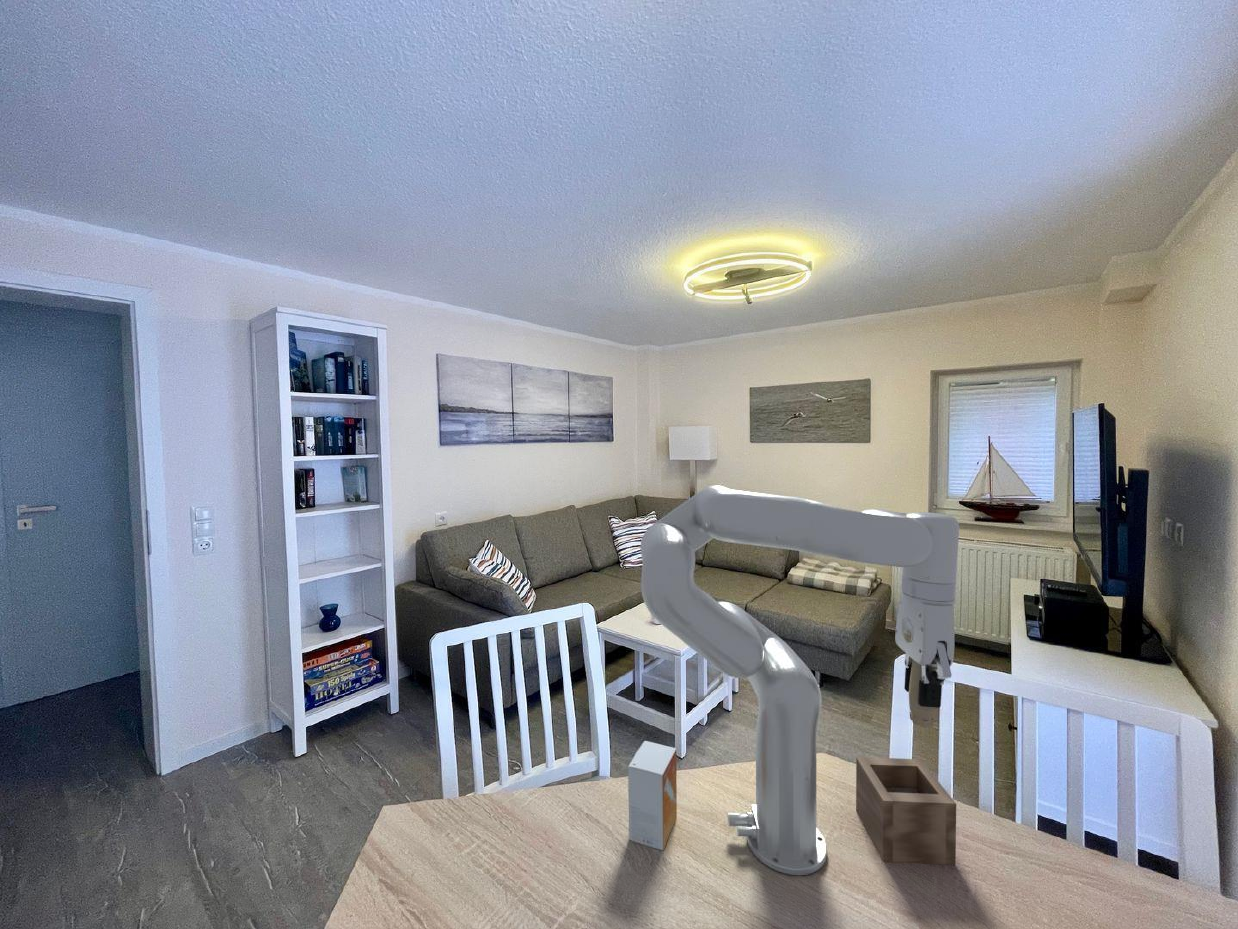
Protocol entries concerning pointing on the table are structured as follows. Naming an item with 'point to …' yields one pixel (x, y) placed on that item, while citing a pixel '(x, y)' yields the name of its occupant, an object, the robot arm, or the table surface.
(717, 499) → the robot arm
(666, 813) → the small box
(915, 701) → the handle
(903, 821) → the sleeve
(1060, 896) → the table surface
